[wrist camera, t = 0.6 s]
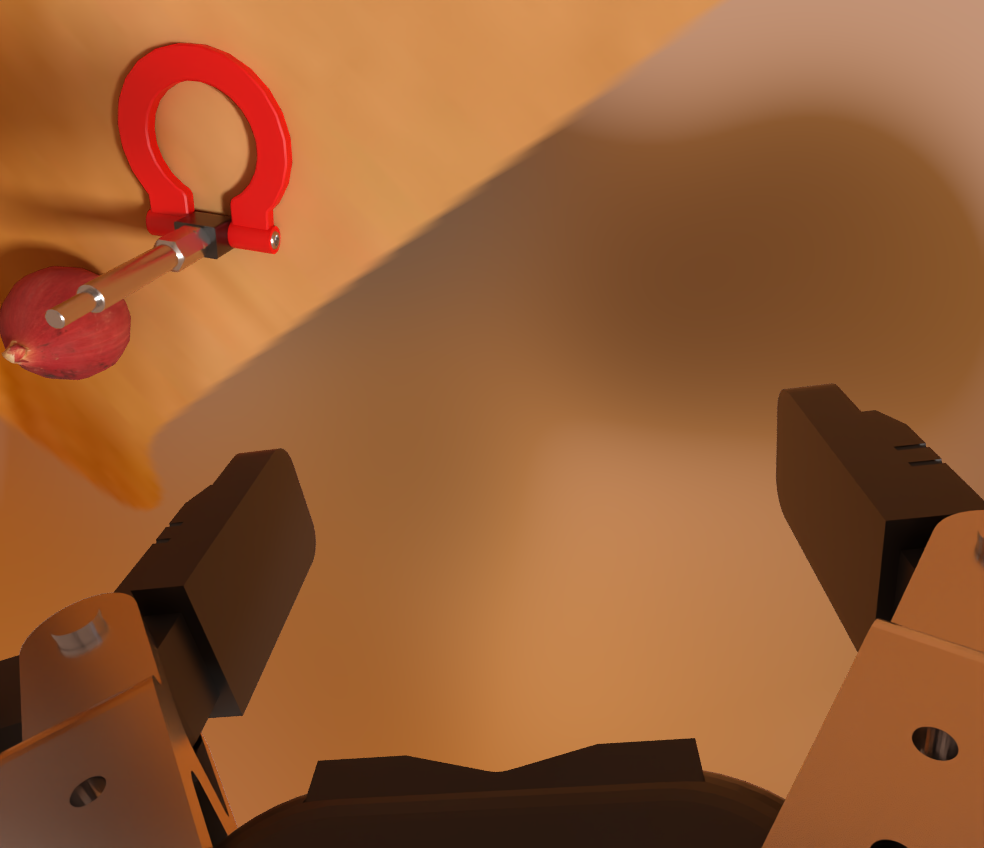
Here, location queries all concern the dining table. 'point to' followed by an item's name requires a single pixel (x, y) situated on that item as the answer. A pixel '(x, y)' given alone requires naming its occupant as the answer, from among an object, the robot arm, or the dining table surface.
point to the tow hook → (169, 197)
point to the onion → (71, 347)
